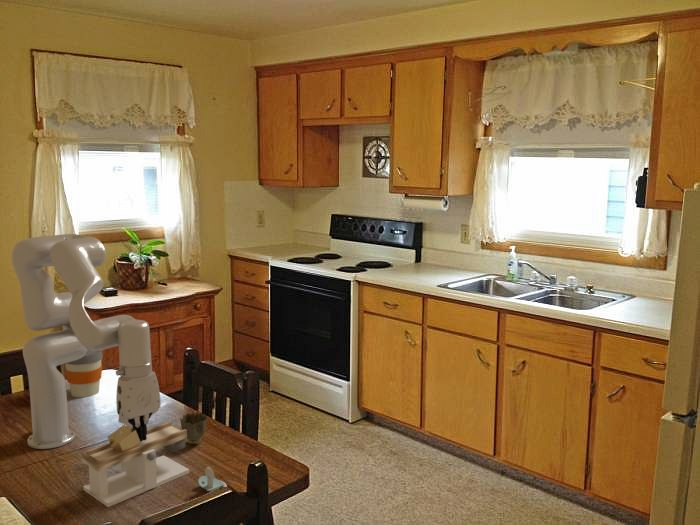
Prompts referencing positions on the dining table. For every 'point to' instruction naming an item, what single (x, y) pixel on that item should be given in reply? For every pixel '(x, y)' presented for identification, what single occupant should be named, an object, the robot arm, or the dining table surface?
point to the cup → (194, 427)
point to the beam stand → (133, 478)
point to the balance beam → (155, 440)
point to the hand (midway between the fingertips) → (140, 439)
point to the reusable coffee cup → (85, 374)
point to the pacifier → (210, 481)
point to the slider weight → (124, 439)
